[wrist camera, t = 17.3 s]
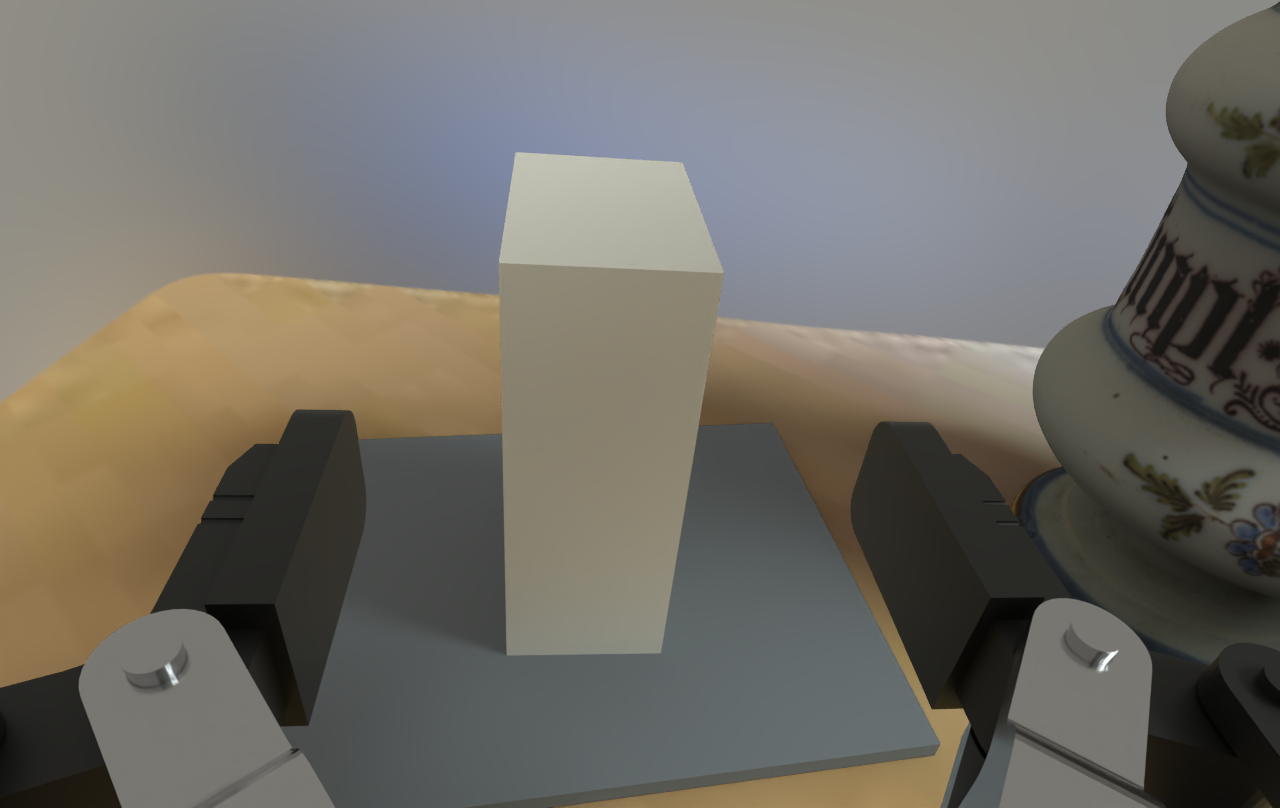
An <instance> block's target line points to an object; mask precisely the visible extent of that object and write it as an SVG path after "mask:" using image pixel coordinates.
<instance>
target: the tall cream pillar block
mask: <svg viewBox="0 0 1280 808" xmlns="http://www.w3.org/2000/svg"><path fill="white" fill-rule="evenodd" d="M723 276H724V272H723V269H722V267H721V264H720V261H719V258H718V256H717V253H716V250H715V248H714V245H713V243H712V240H711V237H710V235H709V232H708V229H707V227H706V224H705V221H704V219H703V216H702V213H701V211H700V208H699V205H698V203H697V200H696V197H695V195H694V192H693V190H692V187H691V184H690V182H689V179H688V176H687V174H686V171H685V169H684V166H683V163H680V162H665V161H647V160H631V159H615V158H600V157H583V156H568V155H552V154H536V153H520V152H516V154H515V162H514V168H513V175H512V181H511V188H510V194H509V200H508V207H507V214H506V220H505V226H504V233H503V240H502V246H501V252H500V259H499V296H500V346H501V397H502V447H503V498H504V548H505V599H506V649H507V656H509V655H581V654H653V653H661V649H662V643H663V637H664V631H665V625H666V619H667V613H668V607H669V601H670V595H671V589H672V583H673V577H674V571H675V565H676V559H677V553H678V547H679V541H680V535H681V529H682V523H683V517H684V511H685V505H686V499H687V493H688V487H689V481H690V475H691V469H692V463H693V457H694V451H695V445H696V439H697V433H698V427H699V421H700V415H701V409H702V403H703V397H704V391H705V385H706V378H707V372H708V366H709V360H710V354H711V348H712V342H713V336H714V330H715V324H716V318H717V312H718V306H719V300H720V294H721V288H722V282H723Z"/></svg>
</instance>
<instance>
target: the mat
mask: <svg viewBox="0 0 1280 808" xmlns="http://www.w3.org/2000/svg"><path fill="white" fill-rule="evenodd" d="M358 442H359V448H360V455H361V461H362V467H363V474H364V480H365V487H366V518H365V525H364V530H363V534H362V538H361V541H360V545H359V548H358V552H357V555H356V559H355V563H354V566H353V570H352V573H351V577H350V580H349V584H348V587H347V591H346V595H345V598H344V602H343V605H342V609H341V612H340V616H339V620H338V623H337V627H336V630H335V634H334V637H333V641H332V645H331V648H330V652H329V655H328V659H327V662H326V666H325V670H324V673H323V677H322V680H321V684H320V687H319V691H318V695H317V698H316V702H315V705H314V709H313V712H312V716H311V720H310V723H309V726H287V727H280V728H281V730H282V731H283V733H284V735H285V737H286V738H287V740H288V742H289V743H290V745H291V746H292V748H293V749H294V750H295V749H296V748H298V749H299V750H300V751H301V752H302V753H303V754H304V756H305V757H306V759H307V760H308V762H309V763H310V765H311V766H312V768H313V770H314V772H315V773H316V775H317V777H318V778H319V780H320V782H321V784H322V785H323V787H324V789H325V791H326V792H327V794H328V796H329V798H330V799H331V801H332V803H333V804H334V806H335V808H551V807H558V806H565V805H573V804H580V803H587V802H595V801H602V800H609V799H617V798H624V797H631V796H639V795H646V794H653V793H661V792H668V791H675V790H683V789H690V788H697V787H705V786H712V785H719V784H727V783H734V782H741V781H749V780H756V779H763V778H771V777H778V776H785V775H793V774H800V773H807V772H815V771H822V770H829V769H837V768H844V767H851V766H859V765H866V764H873V763H881V762H888V761H895V760H903V759H910V758H917V757H925V756H932V755H935V753H936V751H937V749H938V748H939V746H940V742H939V740H938V738H937V736H936V734H935V732H934V731H933V729H932V727H931V725H930V723H929V721H928V719H927V717H926V715H925V713H924V711H923V709H922V708H921V706H920V704H919V702H918V700H917V698H916V696H915V694H914V692H913V690H912V688H911V686H910V685H909V683H908V681H907V679H906V677H905V675H904V673H903V671H902V669H901V667H900V665H899V663H898V662H897V660H896V658H895V656H894V654H893V652H892V650H891V648H890V646H889V644H888V642H887V640H886V639H885V637H884V635H883V633H882V631H881V629H880V627H879V625H878V623H877V621H876V619H875V618H874V616H873V614H872V612H871V610H870V608H869V606H868V604H867V602H866V600H865V598H864V596H863V595H862V593H861V591H860V589H859V587H858V585H857V583H856V581H855V579H854V577H853V575H852V573H851V572H850V570H849V568H848V566H847V564H846V562H845V560H844V558H843V556H842V554H841V552H840V550H839V549H838V547H837V545H836V543H835V541H834V539H833V537H832V535H831V533H830V531H829V529H828V527H827V526H826V524H825V522H824V520H823V518H822V516H821V514H820V512H819V510H818V508H817V506H816V505H815V503H814V501H813V499H812V497H811V495H810V493H809V491H808V489H807V487H806V485H805V483H804V482H803V480H802V478H801V476H800V474H799V472H798V470H797V468H796V466H795V464H794V462H793V460H792V459H791V457H790V455H789V453H788V451H787V449H786V447H785V445H784V443H783V441H782V439H781V437H780V436H779V434H778V432H777V430H776V428H775V426H774V424H773V423H756V424H731V425H707V426H699V427H698V433H697V439H696V445H695V451H694V457H693V463H692V469H691V475H690V481H689V487H688V493H687V499H686V505H685V511H684V517H683V523H682V529H681V535H680V541H679V547H678V553H677V559H676V565H675V571H674V577H673V583H672V589H671V595H670V601H669V607H668V613H667V619H666V625H665V631H664V637H663V643H662V649H661V653H653V654H581V655H509V656H507V649H506V599H505V548H504V498H503V447H502V434H486V435H462V436H437V437H413V438H388V439H364V440H358Z"/></svg>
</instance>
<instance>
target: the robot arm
mask: <svg viewBox="0 0 1280 808" xmlns="http://www.w3.org/2000/svg"><path fill="white" fill-rule="evenodd" d="M365 518H366V487H365V480H364V474H363V467H362V461H361V455H360V448H359V442H358V435H357V429H356V423H355V418H354V415H353V413H352V412H351V411H350V410H296V411H295V412H294V413H293V414H292V416H291V418H290V420H289V422H288V425H287V427H286V429H285V431H284V433H283V435H282V438H281V440H280V442H279V444H255V445H254V446H253V447H251V448H250V449H249V450H248V451H247V452H246V453H244V454H243V455H242V456H241V457H240V458H238V459H237V460H236V461H235V462H234V463H232V464H231V465H230V466H229V467H228V468H227V470H226V472H225V474H224V476H223V477H222V479H221V481H220V483H219V485H218V487H217V489H216V491H215V493H214V494H213V501H210V502H209V504H208V506H207V508H206V510H205V512H204V513H203V515H202V517H201V524H198V525H197V527H196V529H195V530H194V532H193V534H192V536H191V538H190V540H189V542H188V544H187V546H186V548H185V549H184V551H183V553H182V555H181V557H180V559H179V561H178V563H177V565H176V566H175V568H174V570H173V572H172V574H171V576H170V578H169V580H168V582H167V584H166V585H165V587H164V589H163V591H162V593H161V595H160V597H159V599H158V601H157V603H156V604H155V606H154V608H153V610H152V612H151V613H150V614H149V615H146V616H144V617H141V618H139V619H136V620H134V621H132V622H130V623H128V624H126V625H124V626H123V627H121V628H120V629H118V630H117V631H115V632H113V633H112V634H111V635H110V636H108V637H107V638H106V639H105V640H103V641H102V642H101V643H100V645H99V646H98V647H97V648H96V649H95V650H94V651H93V652H92V654H91V655H90V656H89V658H88V659H87V661H86V663H85V664H83V665H81V666H78V667H75V668H72V669H69V670H66V671H63V672H59V673H55V674H51V675H47V676H44V677H40V678H36V679H32V680H29V681H25V682H21V683H17V684H14V685H10V686H6V687H2V688H0V808H335V806H334V804H333V803H332V801H331V799H330V798H329V796H328V794H327V792H326V791H325V789H324V787H323V785H322V784H321V782H320V780H319V778H318V777H317V775H316V773H315V772H314V770H313V768H312V766H311V765H310V763H309V762H308V760H307V759H306V757H305V756H304V754H303V753H302V752H301V751H300V750H299V749H298V748H296V749H295V750H294V749H293V748H292V746H291V745H290V743H289V742H288V740H287V738H286V737H285V735H284V733H283V731H282V730H281V728H280V727H287V726H309V723H310V720H311V716H312V712H313V709H314V705H315V702H316V698H317V695H318V691H319V687H320V684H321V680H322V677H323V673H324V670H325V666H326V662H327V659H328V655H329V652H330V648H331V645H332V641H333V637H334V634H335V630H336V627H337V623H338V620H339V616H340V612H341V609H342V605H343V602H344V598H345V595H346V591H347V587H348V584H349V580H350V577H351V573H352V570H353V566H354V563H355V559H356V555H357V552H358V548H359V545H360V541H361V538H362V534H363V530H364V525H365ZM851 520H852V525H853V529H854V532H855V535H856V537H857V539H858V541H859V544H860V546H861V548H862V551H863V553H864V555H865V557H866V560H867V562H868V564H869V567H870V569H871V571H872V573H873V576H874V578H875V580H876V583H877V585H878V587H879V589H880V592H881V594H882V596H883V599H884V601H885V603H886V605H887V608H888V610H889V612H890V615H891V617H892V619H893V621H894V624H895V626H896V628H897V631H898V633H899V635H900V637H901V640H902V642H903V644H904V647H905V649H906V651H907V653H908V656H909V658H910V660H911V663H912V665H913V667H914V669H915V672H916V674H917V676H918V679H919V681H920V683H921V685H922V688H923V690H924V692H925V695H926V697H927V699H928V701H929V704H930V706H931V708H932V709H957V708H963V709H964V711H965V713H966V716H967V718H968V720H969V724H968V726H967V728H966V729H965V731H964V733H963V736H962V738H961V742H960V745H959V748H958V752H957V755H956V758H955V762H954V765H953V768H952V772H951V775H950V778H949V782H948V785H947V788H946V792H945V795H944V798H943V802H942V805H941V808H1280V651H1278V650H1276V649H1273V648H1270V647H1267V646H1263V645H1258V644H1253V643H1236V644H1232V645H1229V646H1227V647H1226V648H1224V649H1223V651H1222V652H1221V653H1220V654H1219V655H1218V657H1217V658H1216V659H1215V660H1214V661H1213V662H1212V664H1211V665H1210V666H1209V665H1205V664H1201V663H1197V662H1193V661H1189V660H1185V659H1181V658H1177V657H1173V656H1169V655H1165V654H1161V653H1157V652H1153V651H1150V650H1147V649H1146V647H1145V645H1144V644H1143V642H1142V641H1141V639H1140V638H1139V637H1138V636H1137V635H1136V634H1135V632H1134V631H1133V630H1132V629H1130V628H1129V627H1128V626H1127V625H1126V624H1125V623H1124V622H1122V621H1121V620H1120V619H1118V618H1117V617H1115V616H1114V615H1112V614H1111V613H1109V612H1107V611H1105V610H1103V609H1101V608H1099V607H1097V606H1095V605H1092V604H1090V603H1087V602H1084V601H1080V600H1075V599H1073V598H1072V597H1071V596H1070V594H1069V593H1068V591H1067V590H1066V588H1065V587H1064V585H1063V584H1062V582H1061V581H1060V580H1059V578H1058V577H1057V575H1056V574H1055V572H1054V571H1053V569H1052V568H1051V567H1050V565H1049V564H1048V562H1047V561H1046V559H1045V558H1044V556H1043V555H1042V553H1041V552H1040V551H1039V549H1038V548H1037V546H1036V545H1035V543H1034V542H1033V540H1032V539H1031V538H1030V536H1029V535H1028V533H1027V532H1026V530H1025V529H1024V527H1023V526H1019V520H1018V519H1017V517H1016V516H1015V514H1014V513H1013V511H1012V510H1011V509H1010V507H1009V506H1005V500H1004V498H1003V497H1002V495H1001V494H1000V493H999V491H998V490H997V488H996V487H995V485H994V484H993V482H992V481H991V480H990V478H989V477H988V476H987V475H986V474H985V473H984V472H982V471H981V470H980V469H979V468H977V467H976V466H975V465H974V464H972V463H971V462H970V461H969V460H967V459H966V458H965V457H964V456H962V455H961V454H952V453H951V452H950V450H949V449H948V447H947V446H946V444H945V443H944V441H943V440H942V438H941V437H940V435H939V434H938V432H937V431H936V429H935V428H934V426H933V425H931V424H930V423H927V422H880V423H879V424H878V425H877V426H876V427H875V429H874V431H873V434H872V437H871V440H870V443H869V446H868V449H867V452H866V455H865V458H864V461H863V464H862V467H861V470H860V473H859V476H858V479H857V482H856V485H855V488H854V491H853V494H852V499H851Z"/></svg>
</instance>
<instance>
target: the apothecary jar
mask: <svg viewBox="0 0 1280 808" xmlns="http://www.w3.org/2000/svg"><path fill="white" fill-rule="evenodd" d="M1166 121H1167V125H1168V130H1169V133H1170V135H1171V137H1172V140H1173V142H1174V144H1175V146H1176V147H1177V149H1178V150H1179V152H1180V153H1181V154H1182V156H1183V157H1184V158H1185V160H1186V161H1187V163H1188V164H1187V168H1186V170H1185V173H1184V175H1183V178H1182V181H1181V183H1180V185H1179V187H1178V189H1177V191H1176V193H1175V195H1174V196H1173V198H1172V201H1171V203H1170V204H1169V206H1168V208H1167V210H1166V212H1165V214H1164V216H1163V218H1162V220H1161V222H1160V224H1159V226H1158V228H1157V230H1156V232H1155V234H1154V236H1153V238H1152V240H1151V242H1150V244H1149V246H1148V248H1147V249H1146V251H1145V253H1144V255H1143V257H1142V259H1141V261H1140V263H1139V264H1138V266H1137V268H1136V270H1135V271H1134V273H1133V275H1132V276H1131V278H1130V280H1129V281H1128V283H1127V285H1126V286H1125V288H1124V290H1123V292H1122V294H1121V295H1120V297H1119V299H1118V301H1117V303H1116V304H1115V305H1112V306H1108V307H1104V308H1101V309H1098V310H1095V311H1093V312H1091V313H1088V314H1086V315H1084V316H1082V317H1080V318H1078V319H1076V320H1074V321H1073V322H1071V323H1070V324H1068V325H1067V326H1065V327H1064V328H1063V329H1062V330H1061V331H1060V332H1059V333H1057V335H1056V336H1055V337H1054V338H1053V339H1052V340H1051V341H1050V343H1049V344H1048V345H1047V347H1046V348H1045V350H1044V351H1043V353H1042V355H1041V357H1040V359H1039V361H1038V364H1037V367H1036V370H1035V374H1034V381H1033V401H1034V408H1035V412H1036V416H1037V419H1038V422H1039V424H1040V427H1041V429H1042V431H1043V434H1044V436H1045V438H1046V440H1047V442H1048V444H1049V446H1050V448H1051V449H1052V451H1053V453H1054V454H1055V456H1056V458H1057V459H1058V461H1059V462H1060V463H1061V465H1062V466H1063V467H1060V468H1056V469H1052V470H1050V471H1047V472H1045V473H1043V474H1041V475H1039V476H1037V477H1035V478H1034V479H1032V480H1031V481H1030V482H1029V483H1027V484H1026V485H1025V486H1024V487H1023V488H1022V490H1021V491H1020V492H1019V493H1018V495H1017V496H1016V498H1015V500H1014V502H1013V505H1012V508H1011V510H1012V511H1013V513H1014V514H1015V516H1016V517H1017V519H1018V520H1019V526H1023V527H1024V529H1025V530H1026V532H1027V533H1028V535H1029V536H1030V538H1031V539H1032V540H1033V542H1034V543H1035V545H1036V546H1037V548H1038V549H1039V551H1040V552H1041V553H1042V555H1043V556H1044V558H1045V559H1046V561H1047V562H1048V564H1049V565H1050V567H1051V568H1052V569H1053V571H1054V572H1055V574H1056V575H1057V577H1058V578H1059V580H1060V581H1061V582H1062V584H1063V585H1064V587H1065V588H1066V590H1067V591H1068V593H1069V594H1070V596H1071V597H1072V598H1073V599H1075V600H1080V601H1084V602H1087V603H1090V604H1092V605H1095V606H1097V607H1099V608H1101V609H1103V610H1105V611H1107V612H1109V613H1111V614H1112V615H1114V616H1115V617H1117V618H1118V619H1120V620H1121V621H1122V622H1124V623H1125V624H1126V625H1127V626H1128V627H1129V628H1130V629H1132V630H1133V631H1134V632H1135V634H1136V635H1137V636H1138V637H1139V638H1140V639H1141V641H1142V642H1143V644H1144V645H1145V647H1146V649H1147V650H1150V651H1153V652H1157V653H1161V654H1165V655H1169V656H1173V657H1177V658H1181V659H1185V660H1189V661H1193V662H1197V663H1201V664H1205V665H1209V666H1210V665H1211V664H1212V662H1213V661H1214V660H1215V659H1216V658H1217V657H1218V655H1219V654H1220V653H1221V652H1222V651H1223V649H1224V648H1226V647H1227V646H1229V645H1232V644H1236V643H1253V644H1258V645H1263V646H1267V647H1270V648H1273V649H1276V650H1278V651H1280V2H1279V3H1277V4H1276V5H1274V6H1272V7H1270V8H1268V9H1266V10H1263V11H1260V12H1258V13H1256V14H1253V15H1251V16H1248V17H1246V18H1244V19H1242V20H1240V21H1238V22H1236V23H1234V24H1232V25H1230V26H1228V27H1226V28H1224V29H1223V30H1221V31H1219V32H1218V33H1216V34H1215V35H1214V36H1212V37H1211V38H1209V39H1208V40H1207V41H1205V42H1204V43H1203V44H1202V45H1201V46H1199V47H1198V48H1197V49H1196V50H1195V51H1194V52H1193V53H1192V54H1191V55H1190V56H1189V57H1188V58H1187V59H1186V61H1185V62H1184V63H1183V64H1182V66H1181V67H1180V69H1179V70H1178V72H1177V74H1176V75H1175V77H1174V79H1173V82H1172V84H1171V87H1170V90H1169V93H1168V97H1167V103H1166Z"/></svg>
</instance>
